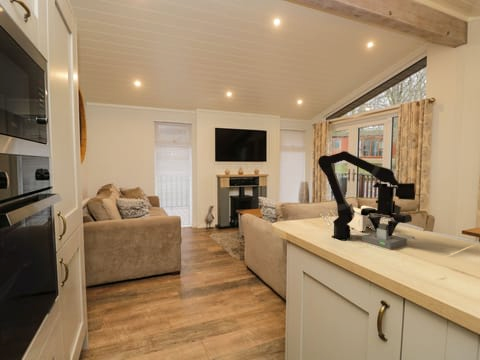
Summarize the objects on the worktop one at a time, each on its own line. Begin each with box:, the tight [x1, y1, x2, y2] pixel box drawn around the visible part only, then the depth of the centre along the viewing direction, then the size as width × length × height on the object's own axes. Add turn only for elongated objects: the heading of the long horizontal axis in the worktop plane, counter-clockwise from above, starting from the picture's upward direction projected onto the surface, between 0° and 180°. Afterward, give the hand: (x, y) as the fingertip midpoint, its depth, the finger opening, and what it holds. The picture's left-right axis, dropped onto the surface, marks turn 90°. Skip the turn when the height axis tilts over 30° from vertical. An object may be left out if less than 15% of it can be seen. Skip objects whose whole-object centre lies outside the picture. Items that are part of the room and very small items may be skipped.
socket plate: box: [361, 231, 408, 251], centre depth 108 cm, size 12×12×3 cm
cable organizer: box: [348, 205, 377, 232], centre depth 131 cm, size 15×11×12 cm
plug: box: [377, 222, 391, 240], centre depth 108 cm, size 4×4×8 cm
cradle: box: [393, 231, 416, 242], centre depth 115 cm, size 8×8×2 cm
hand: (384, 234), depth 108 cm, fingers open, 5 cm apart
